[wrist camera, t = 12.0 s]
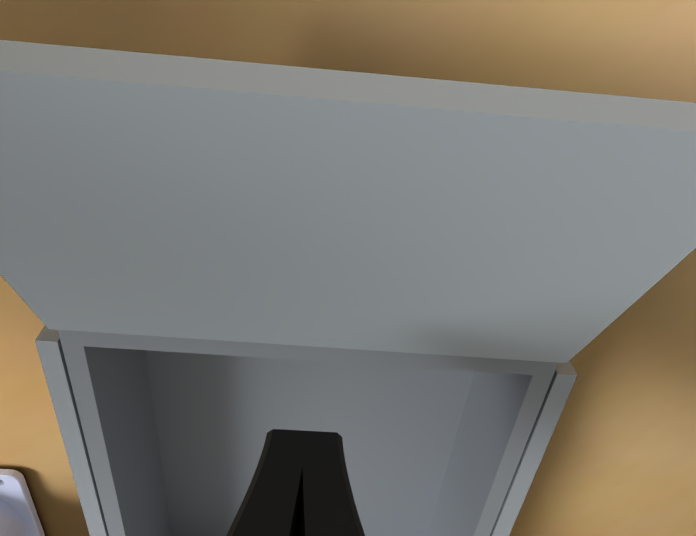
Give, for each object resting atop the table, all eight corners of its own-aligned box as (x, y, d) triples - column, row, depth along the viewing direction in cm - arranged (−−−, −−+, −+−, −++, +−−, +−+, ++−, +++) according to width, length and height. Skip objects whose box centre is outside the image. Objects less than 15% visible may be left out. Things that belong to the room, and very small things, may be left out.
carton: (150, 532, 30) (118, 638, 26) (97, 233, 20) (30, 326, 16) (444, 547, 31) (459, 651, 26) (535, 266, 21) (582, 362, 16)
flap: (-195, 53, 8) (-173, 23, 8) (49, 329, 15) (55, 308, 15) (814, 141, 8) (799, 112, 9) (566, 363, 16) (563, 343, 16)
